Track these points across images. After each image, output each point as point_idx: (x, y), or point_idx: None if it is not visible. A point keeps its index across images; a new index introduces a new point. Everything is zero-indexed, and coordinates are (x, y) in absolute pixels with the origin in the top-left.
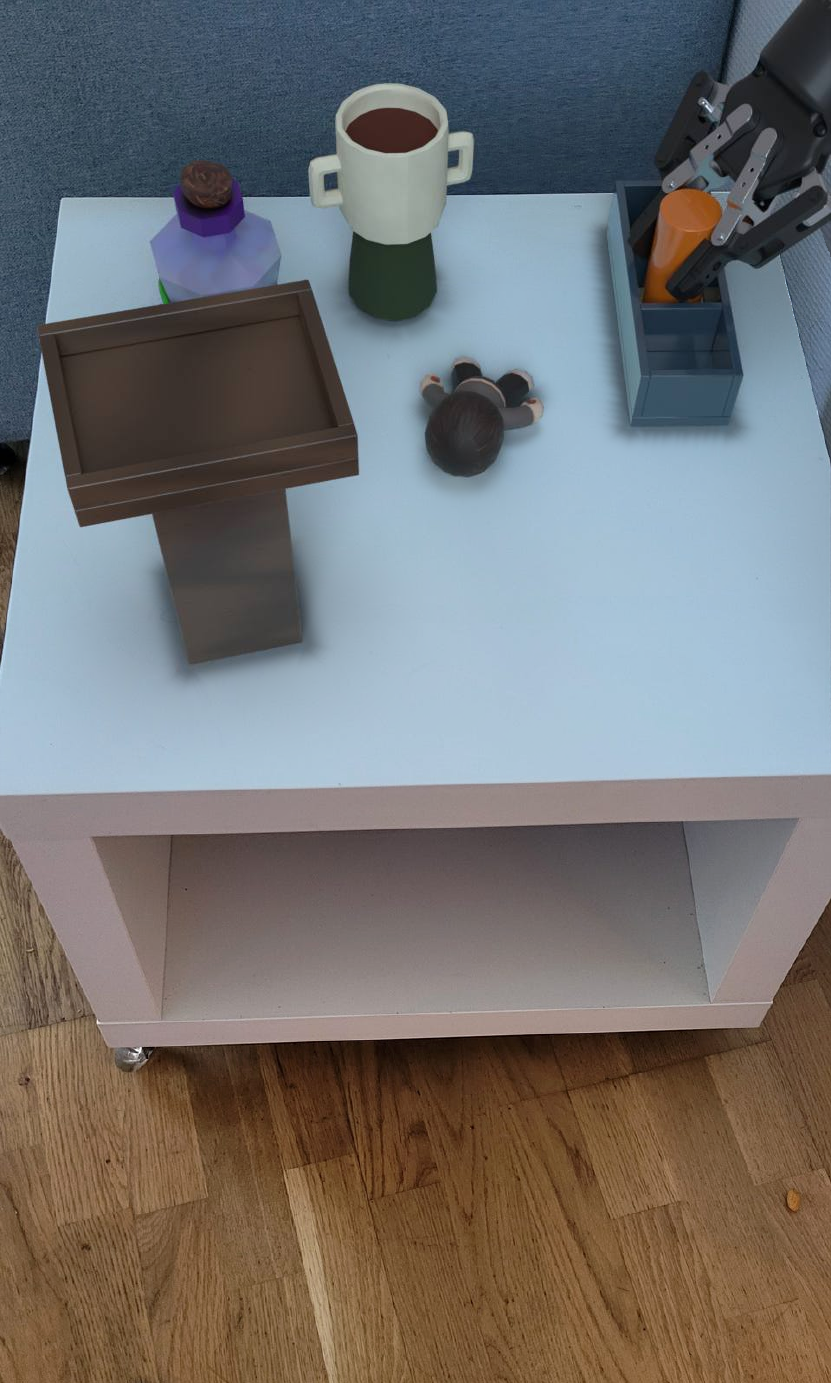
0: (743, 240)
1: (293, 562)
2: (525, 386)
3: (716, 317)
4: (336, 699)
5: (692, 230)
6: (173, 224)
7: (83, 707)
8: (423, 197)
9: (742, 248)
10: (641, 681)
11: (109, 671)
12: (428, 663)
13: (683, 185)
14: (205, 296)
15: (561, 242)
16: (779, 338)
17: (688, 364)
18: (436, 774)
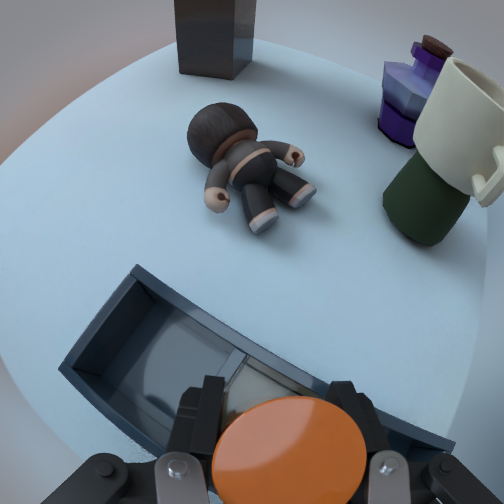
0: (104, 473)
1: (175, 21)
2: (250, 215)
3: None
4: (145, 75)
5: (228, 429)
6: None
7: None
8: (436, 113)
9: (102, 463)
10: (29, 169)
11: None
12: (124, 100)
13: (366, 486)
14: (384, 63)
15: (425, 389)
16: None
17: (177, 400)
18: (88, 91)
